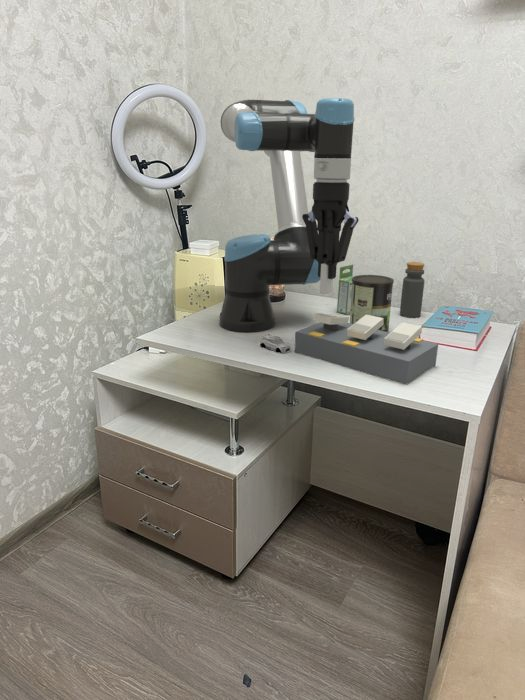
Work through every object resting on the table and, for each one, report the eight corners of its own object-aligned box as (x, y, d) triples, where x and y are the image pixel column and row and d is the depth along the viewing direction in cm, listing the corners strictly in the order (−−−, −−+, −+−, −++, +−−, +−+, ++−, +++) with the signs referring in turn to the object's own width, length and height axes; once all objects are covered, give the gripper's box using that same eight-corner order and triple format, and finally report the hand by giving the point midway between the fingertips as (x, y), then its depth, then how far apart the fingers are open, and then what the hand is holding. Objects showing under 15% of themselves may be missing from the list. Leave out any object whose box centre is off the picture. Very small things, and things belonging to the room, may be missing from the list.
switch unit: (294, 352, 122) (295, 325, 120) (328, 337, 132) (330, 312, 130) (406, 384, 105) (409, 354, 103) (435, 365, 115) (439, 337, 113)
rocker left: (313, 320, 120) (314, 313, 120) (332, 320, 126) (333, 313, 126) (329, 324, 117) (330, 316, 117) (347, 324, 123) (349, 316, 123)
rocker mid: (347, 335, 115) (347, 328, 114) (366, 320, 120) (366, 313, 119) (365, 340, 113) (364, 332, 112) (383, 324, 118) (383, 317, 117)
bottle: (395, 314, 152) (400, 263, 147) (407, 311, 156) (412, 260, 151) (412, 319, 148) (418, 266, 143) (424, 315, 152) (430, 263, 147)
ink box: (347, 315, 151) (350, 269, 147) (336, 312, 154) (339, 267, 149) (361, 310, 156) (364, 265, 151) (350, 308, 158) (353, 264, 154)
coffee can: (388, 327, 141) (393, 275, 136) (389, 339, 131) (394, 284, 126) (349, 324, 143) (352, 273, 138) (347, 336, 133) (351, 282, 128)
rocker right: (384, 344, 110) (384, 337, 109) (402, 328, 115) (402, 321, 114) (403, 349, 107) (404, 342, 106) (421, 333, 112) (421, 325, 111)
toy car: (283, 355, 121) (283, 343, 120) (258, 347, 126) (258, 335, 125) (293, 351, 123) (294, 339, 122) (268, 343, 128) (268, 332, 127)
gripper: (295, 180, 110) (292, 290, 118) (348, 182, 102) (341, 300, 110) (316, 179, 116) (311, 285, 123) (368, 181, 108) (360, 294, 115)
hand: (326, 292), depth 117 cm, fingers closed
